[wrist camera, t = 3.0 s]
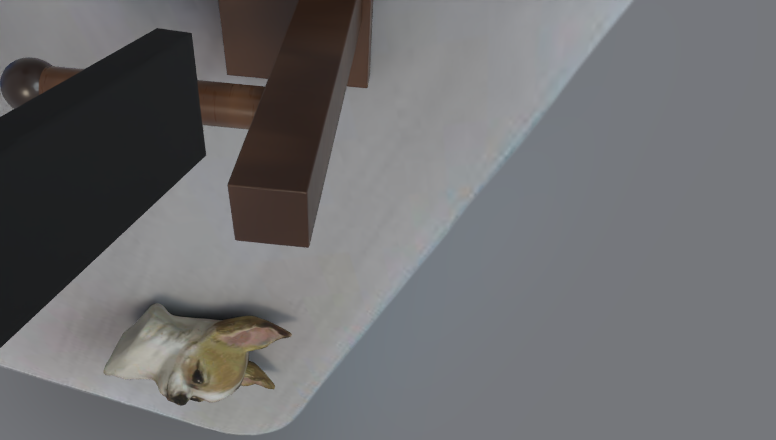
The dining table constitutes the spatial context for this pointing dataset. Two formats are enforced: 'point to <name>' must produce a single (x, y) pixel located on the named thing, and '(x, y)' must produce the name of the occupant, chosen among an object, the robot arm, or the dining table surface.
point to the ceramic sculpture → (193, 354)
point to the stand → (267, 104)
